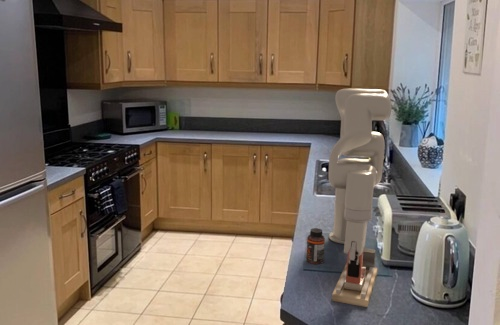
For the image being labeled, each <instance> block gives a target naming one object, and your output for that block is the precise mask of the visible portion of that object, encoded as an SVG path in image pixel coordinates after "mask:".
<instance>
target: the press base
mask: <svg viewBox="0 0 500 325" xmlns="http://www.w3.org/2000/svg"><path fill="white" fill-rule="evenodd" d="M376 251H377V250H376V249H372V248H366V247H364V249H363V264H362V267H366V273H365V282H364V285H363V288H362V291H356V290H351V289H345V288H344V281H345V279H346V273H347V262H346V263H345V265H344V268H343V270H342V272H341V274H340V276H339V278H338V281H337V283H336V284H335V287H334V289H333V292H332V295H331V296H332V297H331V301H332V302H337V303H343V304H348V305H353V306H359V307H365V308H368V307H369V303H370V299H371V296H372V293H373V290H374V286H375V282H376V279H377V277H378V276H377V275H378V267H376V266H375V264H376Z"/></svg>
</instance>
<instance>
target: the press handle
mask: <svg viewBox="0 0 500 325" xmlns="http://www.w3.org/2000/svg"><path fill="white" fill-rule="evenodd" d="M349 251H350V250H349ZM356 253H357V254H358V252H356ZM346 258H347V259H346V260H347V262H346V263H347V273H346V279H345V281H344V288H345V289H351V290H356V291H362V288H363V285H364V282H365V273H366V267H362V264H363V252H362V254H361V255H360V256H359V264H360V269H359V277H358V278H356V277H349V276H348V275H347V274H348V262H349V252H348V254H347V256H346ZM355 258H357V256H355Z"/></svg>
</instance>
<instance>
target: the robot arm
mask: <svg viewBox="0 0 500 325" xmlns="http://www.w3.org/2000/svg"><path fill="white" fill-rule="evenodd" d="M334 98H335V105H336V107H337V108H336V109H337V111H338V113H339V115H340V116H339V117H340V136H339V139H338V140H337V142H335V144H334V145H333V147H332V148H331V151H330V153H329V157H328V183H329V185H330V186H331V188H334V189H335V196H334V198H335V199H334V213H333V214H334V215H333V216H334V217H333V231H331V232H330V233H329V234H328V235H329V236H328V238H329V240H330V241H332V242H334V243H336V244H341V245H344V246H343V254H344V255H346V254H347V255H348V252H349V262H348V274H347V275H348V276H349V277H356V278H358V277H359V269H360V264H359V256H360V255H361V254H362V252H363V249H364V248H365V246H366V238H367V229H368V228H367V225H368V223H369V222H370V221H372V215H373V200H374V188H375V186H377V185H378V184H380V183H381V181H382V177H383V170H384V169H383V168H384V160H385V158H384V157H385V148H386V146H385V144H386V142H385V139H384V135H383V134H382V133H380V132H378V131H373V121H387V120H389V119H390V117H391V114H392V100H391V98H390V96H389V93H388V92H387V91H386V90H385V89H378V88H352V87H351V88H342V89H338V90H337V91H336V93H335V96H334ZM341 156H345V158H341V159H340V157H341ZM369 158H370V159H369ZM349 250H350V251H349ZM356 252H358V254H357V253H356ZM355 256H357V258H355Z"/></svg>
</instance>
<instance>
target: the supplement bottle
mask: <svg viewBox="0 0 500 325" xmlns="http://www.w3.org/2000/svg"><path fill="white" fill-rule="evenodd" d="M309 233H310V234H308V235H307V239H306V240H307V241H306V255H305V256H306V257H305V258H306V259H305V260H306V262H308V263H309V264H311V265H320V264H323V262H324V260H325V242H326V238H325V236H324V235H323V229H321V228H318V227H315V228H314V227H313V228H310V232H309Z"/></svg>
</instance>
